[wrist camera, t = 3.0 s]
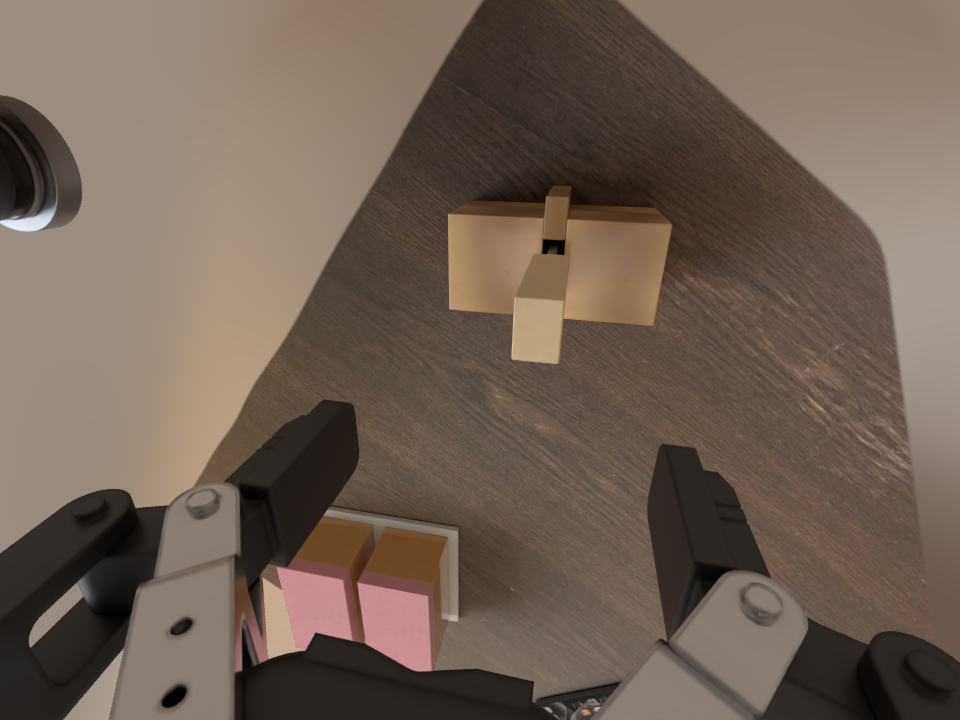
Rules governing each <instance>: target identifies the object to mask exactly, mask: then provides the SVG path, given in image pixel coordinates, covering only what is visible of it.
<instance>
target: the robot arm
mask: <svg viewBox="0 0 960 720" xmlns="http://www.w3.org/2000/svg"><path fill="white" fill-rule="evenodd" d="M43 200H44V181H43V176H42V173H41V169H40V167H39V164H38V162H37V160H36V158H35V156H34V154H33V152H32V150H31V149H30V147H29V146H28V144H27V143H26V141H25V140H24V139H23V138H22V136H21V135H20V134H19V133H18V132H17V131H16V130H15V129H14V128H13V127H12V126H11V125H10V124H8V123H7V122H6V121H4V120H3V119H1V118H0V221H3V220H19V219H26V218H30V217H32V216H34V215H35V214H36V213H37V212H38V211H39V210H40V208H41V206H42V204H43ZM358 459H359V444H358V435H357V426H356V418H355V410H354V407H353V405H352V404H351V403H347V402H339V401H331V400H322V401H321V402H320V403H319V404H318V405H317V406H316V407H315V408H314V409H313V410H312V411H311V412H310V413H309V414H308V415H307V416H306V415H302V416H300V417H298V418H296V419H294V420H292V421H290V422H288V423H286V424H285V425H284V426H283V427H281V428H280V429H279V430H278V431H277V432H276V433H275V434H274V435H273V436H272V439H269V440H268V441H267V442H266V443H265V444H263V445H262V448H261V449H260V448H259V449H258V450H257V451H256V452H255V453H254V454H253V455H252V456H251V457H250V458H249V459H248V460H246V461H245V462H244V463H243V464H242V465H241V466H240V467H239V468H238V469H237V470H236V471H235V472H234V473H233V474H232V475H231V476H230V477H228V478H227V479H226V480H225V481H224V482H211V483H206V484H202V485H199V486H196V487H193V488H191V489H189V490H187V491H185V492H184V493H182V494H181V495H179V496H178V497H176V498H175V499H174V500H173V501H172V502H171V503H170V505H167V506H155V507H143V508H135V505H134V503H133V500H132V498H131V496H130V494H129V493H128V492H126V491H124V490H120V489H107V490H101V491H96V492H93V493H89V494H87V495H84V496H81V497H79V498H77V499H75V500H73V501H71V502H70V503H68V504H66V505H65V506H63V507H62V508H60V509H59V510H58V511H56V512H55V513H54V514H52V515H51V516H50V517H48V518H47V519H46V520H44V521H43V522H42V523H41V524H39V525H38V526H36V527H35V528H34V529H32V530H31V531H30V532H28V533H27V534H26V535H24V536H23V537H22V538H20V539H19V540H18V541H16V542H15V543H14V544H12V545H11V546H10V547H8V548H7V549H6V550H4V551H3V552H2V553H0V720H63V719H64V718H65V717H66V716H67V714H68V713H69V712H70V711H71V710H72V708H73V707H74V706H75V705H76V703H78V701H79V700H80V699H81V698H82V697H83V695H84V694H85V693H86V692H87V691H88V690H89V688H90V687H91V686H92V685H93V684H94V682H95V681H96V680H97V679H98V678H99V677H100V675H101V674H102V673H103V672H104V671H105V669H106V668H107V667H108V666H109V664H111V662H112V661H113V660H114V659H115V657H116V656H117V655H118V654H119V653H120V652H121V651H122V649H123V648H124V651H123V656H122V661H121V665H120V670H119V675H118V679H117V684H116V689H115V693H114V698H113V703H112V708H111V712H110V717H109V720H559V719H558V718H557V717H556V716H554V715H553V714H551V713H550V712H549V711H547V710H546V709H544V708H543V707H541V706H539V705H537V704H536V703H534V702H532V696H533V686H534V682H533V681H529V680H524V679H520V678H516V677H511V676H507V675H502V674H498V673H493V672H489V671H484V670H480V669H461V670H440V671H414V670H411V669H409V668H407V667H406V666H404V665H402V664H400V663H399V662H397V661H395V660H393V659H392V658H390V657H388V656H386V655H385V654H383V653H381V652H379V651H378V650H376V649H374V648H372V647H371V646H369V645H367V644H365V643H360V642H356V641H351V640H347V639H342V638H338V637H334V636H329V635H325V634H320V633H316V632H315V634H314V636H313V638H312V640H311V641H310V643H309V645H308V647H307V649H306V650H305V651H298V652H294V653H288V654H284V655H281V656H277V657H274V658H271V659H268V653H267V652H268V651H267V640H266V624H265V608H264V593H263V581H262V576H261V573H262V571H263V570H264V569H265V567H266V566H267V565H268V564H271V565H276V566H281V567H286V568H287V567H288V566H289V564H290V563H291V561H292V560H293V558H294V557H295V556H296V554H297V553H298V551H299V550H300V548H301V547H302V546H303V544H304V543H305V541H306V540H307V538H308V537H309V536H310V534H311V533H312V531H313V530H314V528H315V527H316V526H317V524H318V523H319V521H320V520H321V518H322V517H323V516H324V514H325V513H326V511H327V510H328V509H329V507H330V506H331V504H332V503H333V501H334V500H335V499H336V497H337V496H338V494H339V493H340V491H341V490H342V489H343V487H344V486H345V484H346V483H347V481H348V480H349V479H350V477H351V476H352V474H353V473H354V471H355V469H356V466H357V463H358ZM647 512H648V523H649V529H650V535H651V542H652V548H653V554H654V560H655V567H656V573H657V579H658V585H659V591H660V598H661V604H662V610H663V616H664V623H665V629H666V635H667V642H666V641H664V640H663V639H659V640H658V641H656V642H655V643H654V644H653V645H652V646H651V647H650V648H649V650H648V651H647V652H646V653H645V654H644V656H643V657H642V658H641V659H640V660H639V662H638V663H637V664H636V665H635V666H634V668H633V669H632V670H631V671H630V672H629V674H628V675H627V676H626V677H625V678H624V680H623V681H622V682H621V683H620V684H619V686H618V687H617V688H616V689H615V690H614V692H613V693H612V694H611V695H610V696H609V698H608V699H607V700H606V701H605V702H604V703H603V705H602V706H601V707H600V708H599V709H598V711H597V712H596V713H595V714H594V715H593V717H592V718H591V719H590V720H960V663H959V662H958V661H957V660H955V659H954V658H953V657H952V656H950V655H949V654H947V653H946V652H944V651H943V650H941V649H940V648H938V647H936V646H935V645H933V644H931V643H929V642H927V641H925V640H923V639H920V638H918V637H915V636H913V635H909V634H906V633H901V632H895V631H886V632H881V633H879V634H877V635H875V636H874V637H873V638H872V640H871V641H870V643H869V645H867V644H865V643H862V642H860V641H858V640H855V639H853V638H851V637H848V636H846V635H844V634H841V633H839V632H837V631H834V630H832V629H829V628H827V627H825V626H823V625H821V624H819V623H817V622H815V621H813V620H811V619H810V618H808V617H807V616H806V613H805V611H804V609H803V607H802V606H801V604H800V603H799V601H798V600H797V599H796V598H795V597H794V596H793V595H792V594H791V593H790V592H789V591H788V590H787V589H786V588H784V587H783V586H782V585H780V584H779V583H777V582H776V581H774V580H772V579H771V577H770V574H769V572H768V570H767V567H766V565H765V562H764V560H763V558H762V555H761V553H760V551H759V548H758V546H757V543H756V541H755V539H754V536H753V534H752V531H751V529H750V527H749V524H747V520H746V517H745V515H744V512H743V510H742V509H741V505H740V503H739V501H738V498H737V496H736V493H735V491H734V489H733V488H732V487H731V486H730V484H729V483H728V482H727V481H726V480H725V479H724V478H723V477H722V476H721V475H720V474H719V473H718V472H711V471H704V470H703V468H702V465H701V462H700V459H699V457H698V454H697V451H696V449H695V448H691V447H683V446H675V445H667V444H661V446H660V448H659V451H658V455H657V459H656V464H655V468H654V473H653V477H652V482H651V486H650V491H649V496H648V509H647ZM76 583H77V584H78V586H79V588H80V590H81V592H82V594H83V596H84V597H83V598H82V599H81V600H80V601H79V602H78V603H77V604H75V605H74V607H72V608H71V609H70V610H69V611H68V612H67V613H66V614H65V615H64V616H63V617H62V618H61V619H60V620H59V621H58V622H57V623H56V624H55V625H54V626H53V627H52V628H51V629H50V630H49V631H48V632H47V633H46V634H45V635H44V636H43V637H42V638H41V639H40V640H38V641H37V642H36V643H35V644H34V645H33V646H32V647H31V648H30V646H29V635H30V632H31V630H32V628H33V626H34V624H35V623H36V621H37V620H38V619H39V617H40V616H41V615H42V614H43V613H44V612H46V611H47V610H48V609H49V608H50V607H51V606H52V605H53V604H54V603H55V602H56V601H57V600H58V599H60V597H62V596H63V595H64V594H65V593H66V592H67V591H68V590H69V589H70V588H71V587H72V586H73V585H75V584H76Z"/></svg>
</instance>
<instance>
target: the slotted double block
mask: <svg viewBox="0 0 960 720" xmlns="http://www.w3.org/2000/svg"><path fill="white" fill-rule="evenodd" d="M571 190H572V186H557V185H554V186H553V187H552V188H551V190H550V191H549V193H548V194H547V196H546V203H527V202H502V201H477V200H473V201H471V202H469V203H467V204H465V205H464V206H462V207H460V208H458V209H456V210H454V211H453V212H451V213H449V214H448V242H449V309H450V310H463V311H475V312H487V313H499V314H512V315H514V298H515V295H516V293H517V291H518V288H519V286H520V284H521V281H522V279H523V277H524V274H525V272H526V270H527V267H528V265H529V263H530V261H531V258H532V256H533V254H547V253H548V242H549V240H565V250H564V255H566V256H570V260H569V270H568V280H567V290H566V301H565V310H564V319H575V320H587V321H599V322H612V323H624V324H636V325H648V326H653V325H654V320H655V315H656V309H657V304H658V299H659V293H660V288H661V283H662V277H663V272H664V267H665V261H666V256H667V251H668V246H669V240H670V235H671V230H672V224H671V223H670V222H669V221H668V220H667V219H666V218H665V217H664V216H663V215H662V214H661V213H660V212H659V211H657V210H656V209H655V208H650V207H625V206H600V205H575V204H571V205H570V201H571Z"/></svg>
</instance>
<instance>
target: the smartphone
mask: <svg viewBox="0 0 960 720" xmlns="http://www.w3.org/2000/svg"><path fill="white" fill-rule="evenodd" d="M618 686H619V684H618V685H613V686H607V687H602V688H597V689H592V690H586V691H581V692H576V693H571V694H565V695H560V696H555V697H549V698H544V699H539V700H537V701H536V704H537V705H539V706H541V707H543V708H544V709H546V710H547V711H549V712H550V713H551V714H553V715H554V716H556V717H557V718H558V719H559V720H590V719H591V718H592V717H593V715H594V714H595V713H596V712H597V711H598V709H599V708H600V707H601V706H602V705H603V703H604V702H605V701H606V700H607V699H608V698H609V696H610V695H611V694H612V693H613V692H614V690H615V689H616V688H617V687H618Z"/></svg>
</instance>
